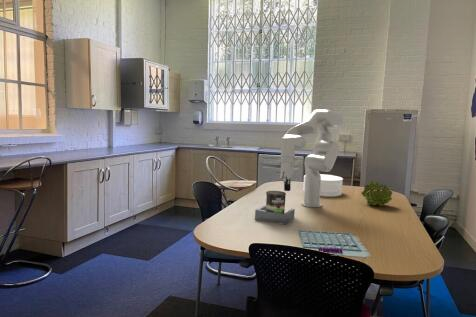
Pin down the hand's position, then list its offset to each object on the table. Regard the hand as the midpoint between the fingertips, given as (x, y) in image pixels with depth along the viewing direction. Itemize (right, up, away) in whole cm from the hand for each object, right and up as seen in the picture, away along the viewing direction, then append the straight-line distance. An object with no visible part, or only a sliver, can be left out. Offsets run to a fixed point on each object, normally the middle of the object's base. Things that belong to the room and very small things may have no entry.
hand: (287, 190), depth 205 cm
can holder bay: (-8, -14, -12) cm, 20 cm away
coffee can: (-8, -14, -13) cm, 21 cm away
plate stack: (+34, -7, +63) cm, 72 cm away
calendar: (+13, -19, -48) cm, 54 cm away
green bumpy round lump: (+60, -12, +26) cm, 67 cm away
